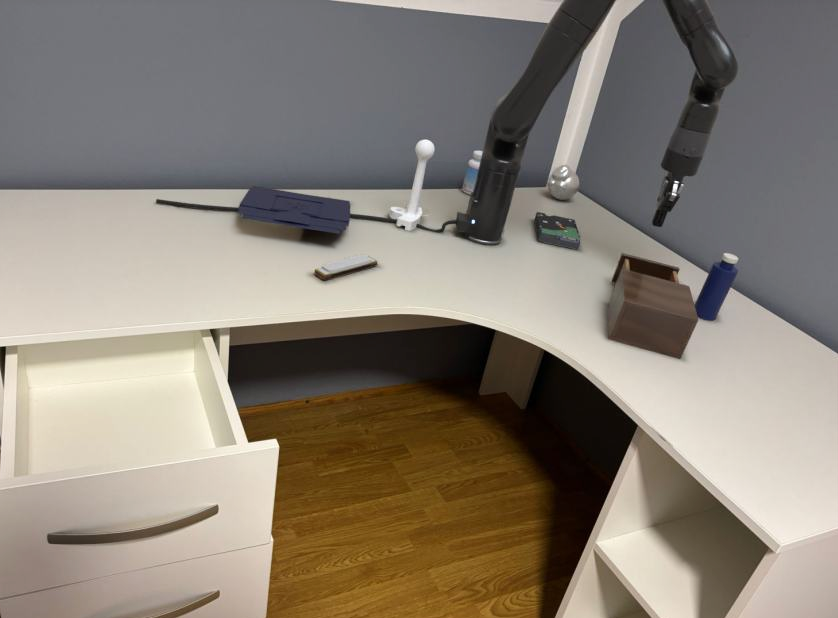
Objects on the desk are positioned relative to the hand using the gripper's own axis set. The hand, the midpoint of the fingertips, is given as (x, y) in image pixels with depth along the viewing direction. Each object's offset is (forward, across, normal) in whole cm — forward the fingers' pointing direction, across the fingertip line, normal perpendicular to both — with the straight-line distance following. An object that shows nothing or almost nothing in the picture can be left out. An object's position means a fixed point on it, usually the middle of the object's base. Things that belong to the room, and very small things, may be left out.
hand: (656, 225), depth 158 cm
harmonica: (+12, +38, -60) cm, 72 cm away
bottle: (+13, +13, +14) cm, 23 cm away
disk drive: (+13, -13, -20) cm, 27 cm away
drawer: (+12, +14, 0) cm, 19 cm away
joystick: (+12, +4, -56) cm, 58 cm away
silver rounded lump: (+13, -44, -21) cm, 50 cm away
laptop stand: (+12, +19, -78) cm, 82 cm away
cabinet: (+13, +29, 0) cm, 31 cm away
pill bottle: (+13, -30, -44) cm, 55 cm away
